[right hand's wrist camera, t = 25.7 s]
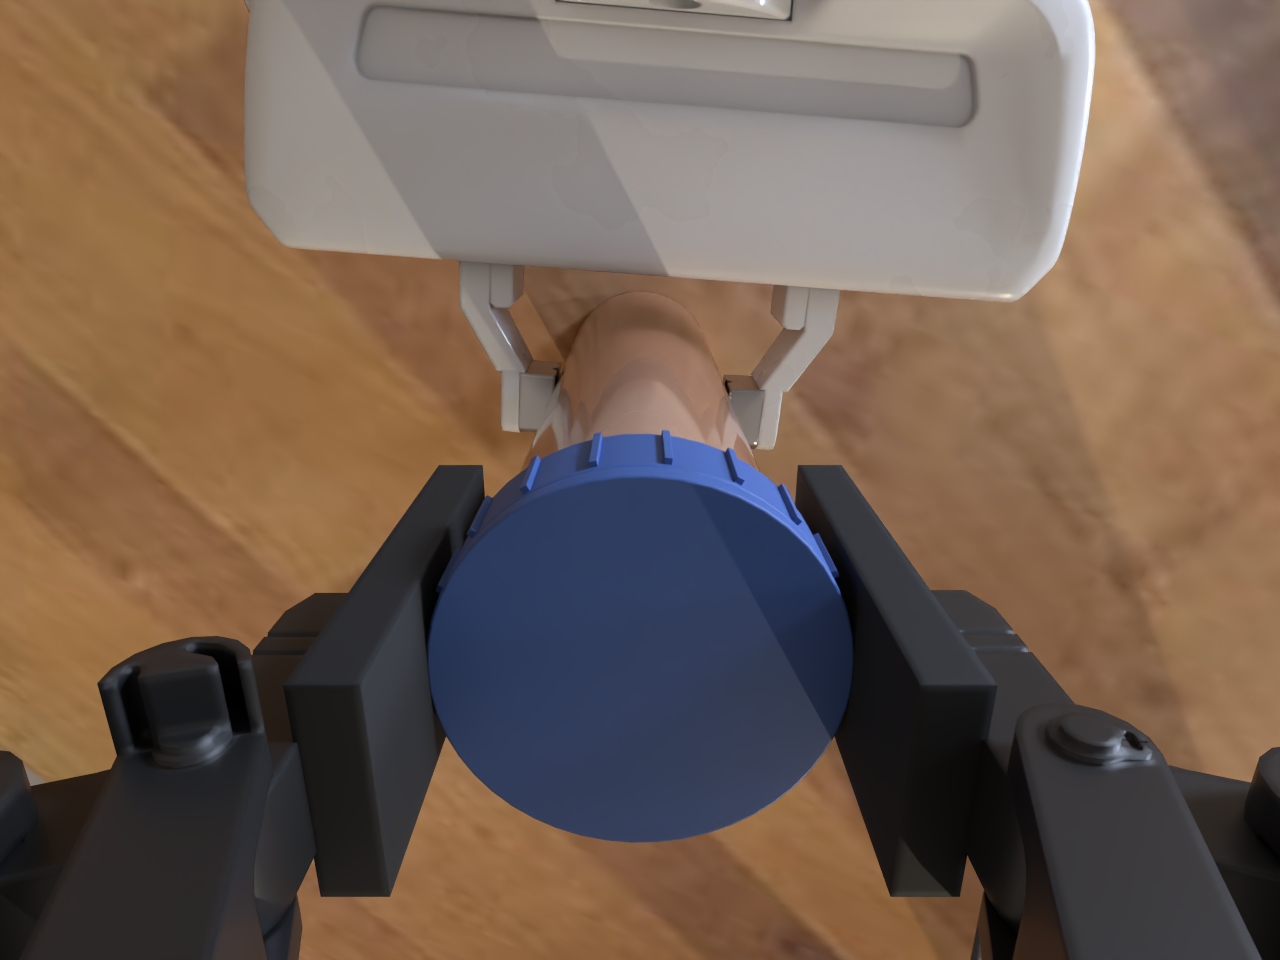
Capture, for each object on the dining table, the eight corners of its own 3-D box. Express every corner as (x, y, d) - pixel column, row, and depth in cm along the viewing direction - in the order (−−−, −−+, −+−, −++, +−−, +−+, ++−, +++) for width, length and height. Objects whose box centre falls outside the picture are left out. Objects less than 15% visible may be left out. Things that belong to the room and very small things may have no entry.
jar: (548, 382, 29) (408, 691, 12) (615, 264, 28) (572, 409, 10) (662, 447, 30) (695, 827, 12) (733, 336, 29) (884, 585, 11)
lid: (374, 628, 12) (333, 698, 10) (614, 342, 11) (609, 371, 9) (659, 821, 13) (662, 909, 12) (910, 588, 12) (952, 652, 10)
